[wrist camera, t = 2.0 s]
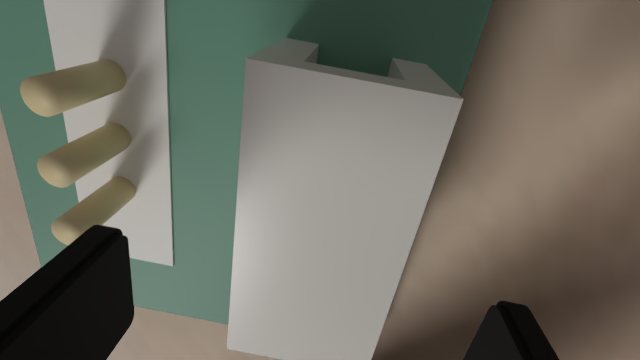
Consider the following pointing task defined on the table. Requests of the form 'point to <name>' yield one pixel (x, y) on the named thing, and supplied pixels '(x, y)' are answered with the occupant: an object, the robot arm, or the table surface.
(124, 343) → the table surface
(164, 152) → the pin board
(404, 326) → the table surface
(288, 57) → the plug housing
